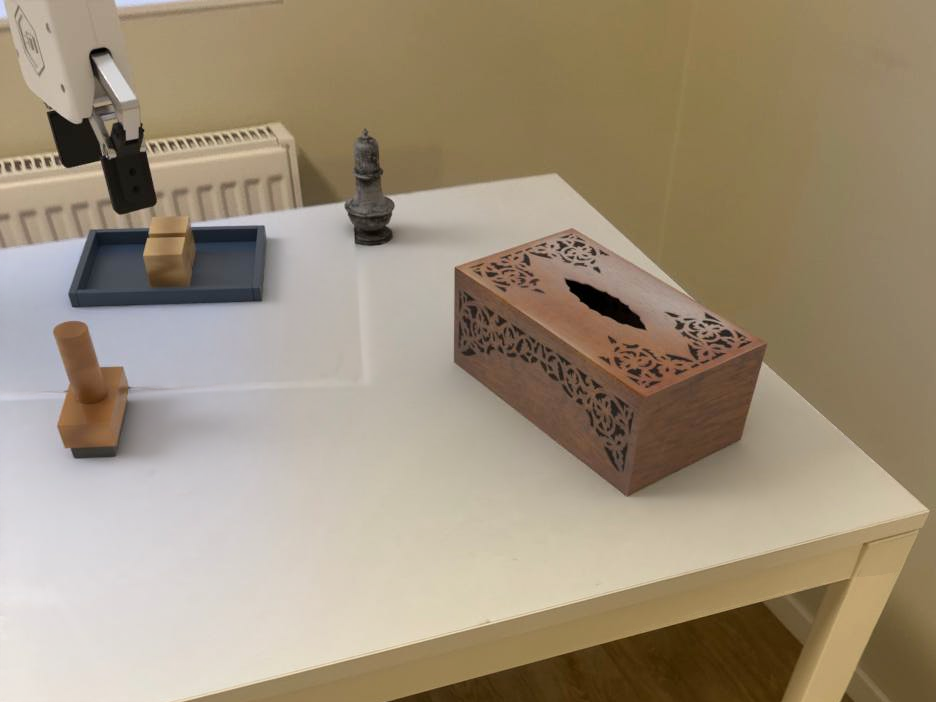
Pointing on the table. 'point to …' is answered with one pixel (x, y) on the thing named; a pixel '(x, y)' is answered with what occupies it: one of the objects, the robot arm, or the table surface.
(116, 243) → the tray
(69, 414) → the brush
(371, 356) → the table surface
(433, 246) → the table surface
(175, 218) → the block
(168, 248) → the block
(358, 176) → the salt shaker
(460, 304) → the tissue box cover
